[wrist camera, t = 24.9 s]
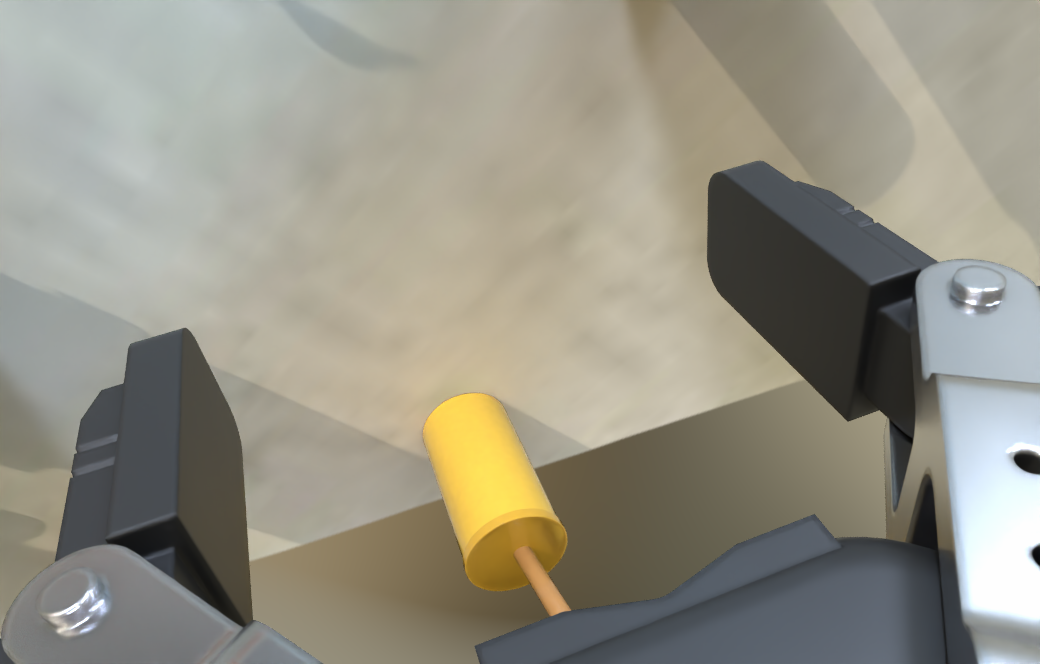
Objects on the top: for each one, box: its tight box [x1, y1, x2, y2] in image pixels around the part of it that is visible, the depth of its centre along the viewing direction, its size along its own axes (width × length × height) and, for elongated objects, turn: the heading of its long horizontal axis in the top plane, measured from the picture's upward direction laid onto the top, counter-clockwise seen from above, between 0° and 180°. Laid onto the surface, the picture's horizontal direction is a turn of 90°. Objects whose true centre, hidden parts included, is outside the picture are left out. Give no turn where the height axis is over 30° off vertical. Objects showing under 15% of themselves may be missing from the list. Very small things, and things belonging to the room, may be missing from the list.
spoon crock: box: [423, 393, 571, 617], centre depth 44 cm, size 6×6×22 cm
